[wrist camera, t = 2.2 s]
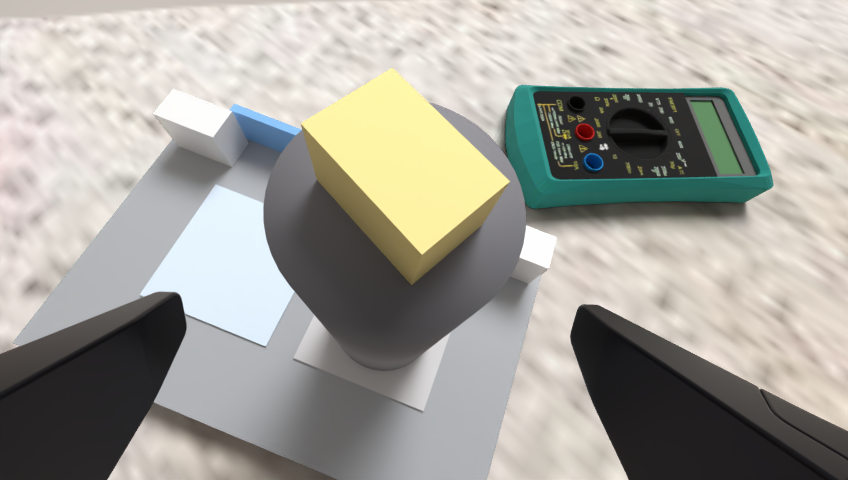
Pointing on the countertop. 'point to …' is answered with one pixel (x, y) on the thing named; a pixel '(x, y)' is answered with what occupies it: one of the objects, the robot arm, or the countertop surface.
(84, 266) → the board
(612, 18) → the countertop surface
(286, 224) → the grey cylinder
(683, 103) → the digital multimeter
